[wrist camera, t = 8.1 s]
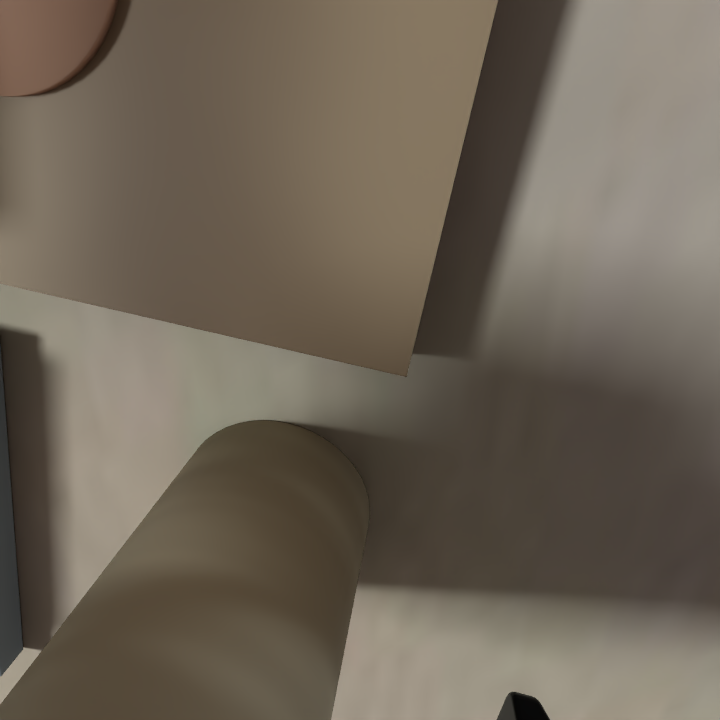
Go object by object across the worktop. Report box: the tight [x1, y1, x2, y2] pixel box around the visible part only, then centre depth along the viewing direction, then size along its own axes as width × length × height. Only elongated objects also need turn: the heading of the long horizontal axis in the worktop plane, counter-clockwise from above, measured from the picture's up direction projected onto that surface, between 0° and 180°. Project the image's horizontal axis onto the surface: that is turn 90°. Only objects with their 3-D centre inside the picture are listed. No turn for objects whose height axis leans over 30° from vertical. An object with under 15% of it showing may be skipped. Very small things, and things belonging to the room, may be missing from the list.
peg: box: [0, 420, 370, 720], centre depth 8 cm, size 4×4×8 cm
